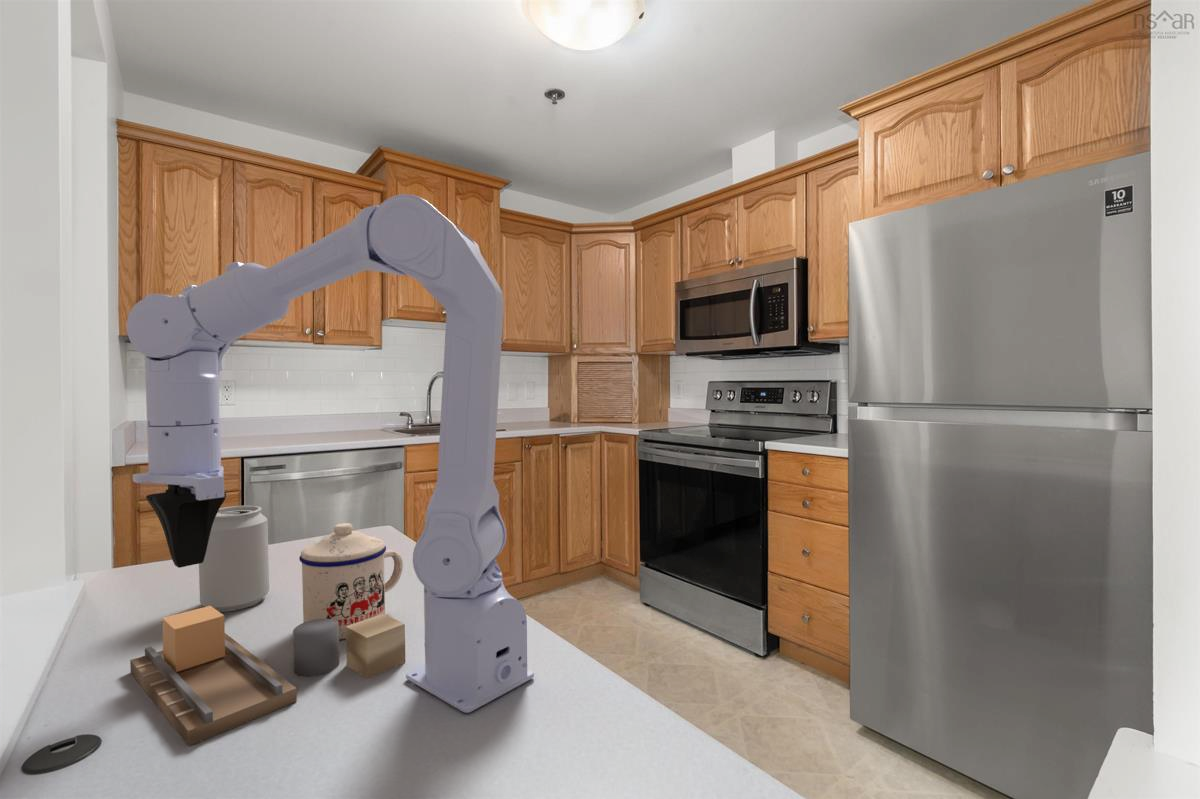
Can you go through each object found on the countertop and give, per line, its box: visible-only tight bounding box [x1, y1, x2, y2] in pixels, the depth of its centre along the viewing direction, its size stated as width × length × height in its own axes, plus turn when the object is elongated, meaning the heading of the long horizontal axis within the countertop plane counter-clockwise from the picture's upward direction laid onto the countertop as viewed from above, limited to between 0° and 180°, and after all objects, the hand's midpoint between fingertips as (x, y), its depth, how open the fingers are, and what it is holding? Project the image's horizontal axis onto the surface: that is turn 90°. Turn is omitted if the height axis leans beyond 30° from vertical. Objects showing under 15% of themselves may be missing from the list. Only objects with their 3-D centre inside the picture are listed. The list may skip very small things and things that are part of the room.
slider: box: [161, 606, 226, 672], centre depth 56 cm, size 4×4×4 cm
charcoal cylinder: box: [292, 619, 340, 678], centre depth 57 cm, size 4×4×4 cm
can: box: [198, 505, 270, 613], centre depth 74 cm, size 8×8×12 cm
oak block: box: [345, 613, 406, 679], centre depth 58 cm, size 4×4×4 cm
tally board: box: [129, 632, 298, 747], centre depth 54 cm, size 18×8×2 cm, turn 50°
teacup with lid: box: [298, 522, 404, 640], centre depth 68 cm, size 12×9×12 cm
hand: (188, 564), depth 57 cm, fingers closed
